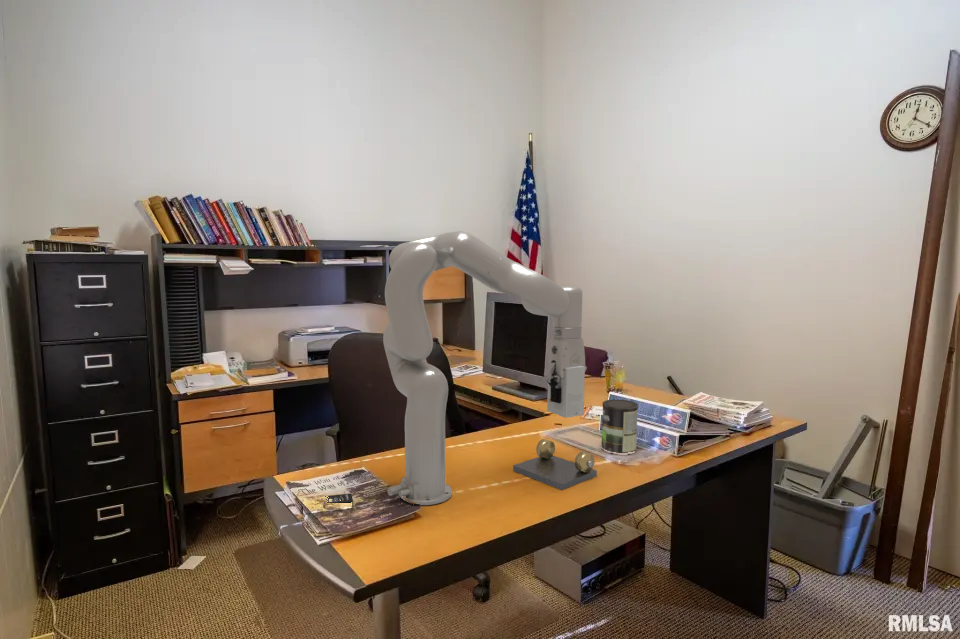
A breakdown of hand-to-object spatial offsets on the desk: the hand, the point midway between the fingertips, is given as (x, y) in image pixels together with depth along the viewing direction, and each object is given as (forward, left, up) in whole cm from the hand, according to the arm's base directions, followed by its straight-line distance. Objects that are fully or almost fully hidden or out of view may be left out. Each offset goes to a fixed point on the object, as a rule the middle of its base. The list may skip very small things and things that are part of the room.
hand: (565, 399), depth 151 cm
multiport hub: (-59, +20, -20) cm, 65 cm away
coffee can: (+25, 0, -20) cm, 32 cm away
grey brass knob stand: (-4, 0, -19) cm, 20 cm away
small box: (0, 0, -4) cm, 4 cm away
